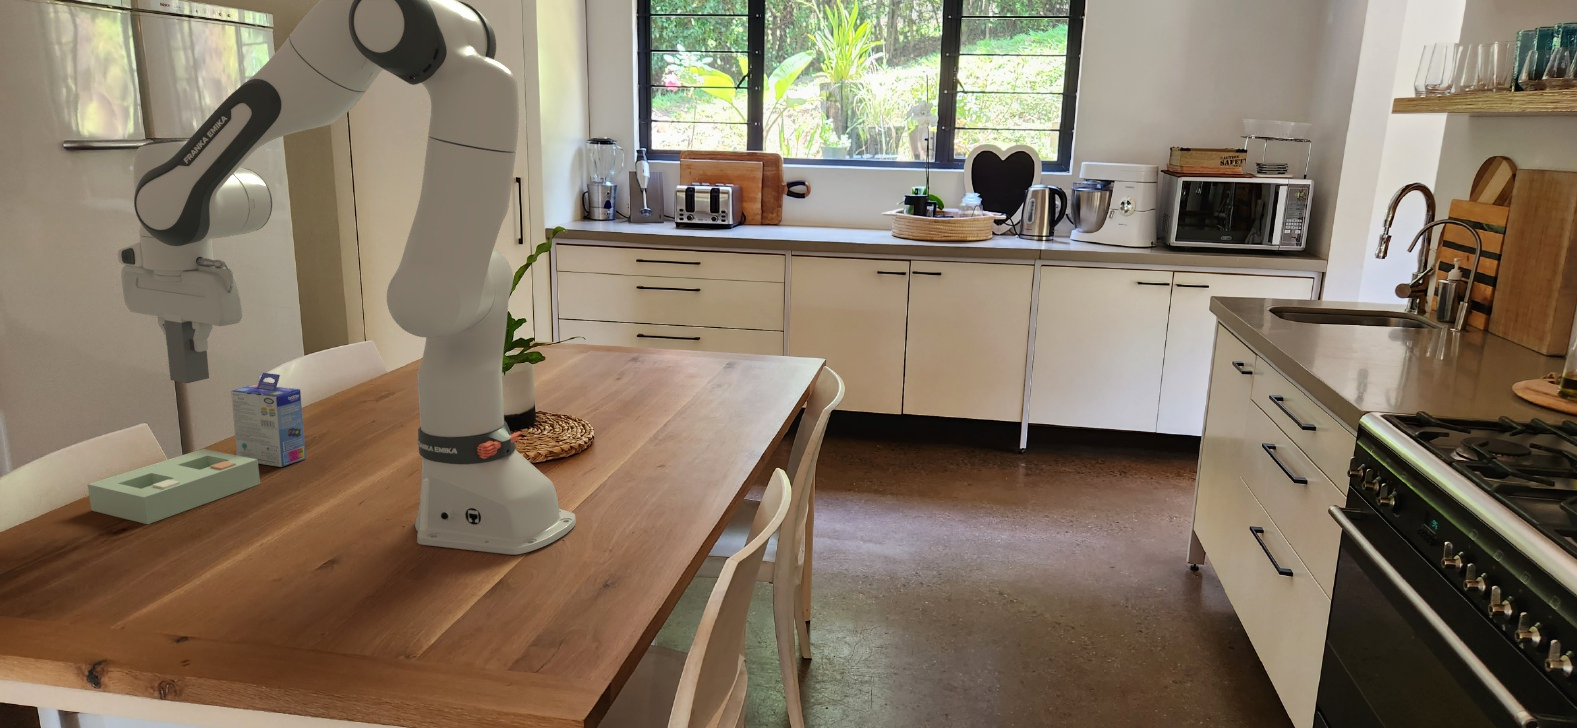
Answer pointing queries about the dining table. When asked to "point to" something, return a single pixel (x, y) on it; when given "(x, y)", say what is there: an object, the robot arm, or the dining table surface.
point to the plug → (183, 351)
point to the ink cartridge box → (269, 423)
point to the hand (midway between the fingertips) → (187, 348)
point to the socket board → (173, 485)
